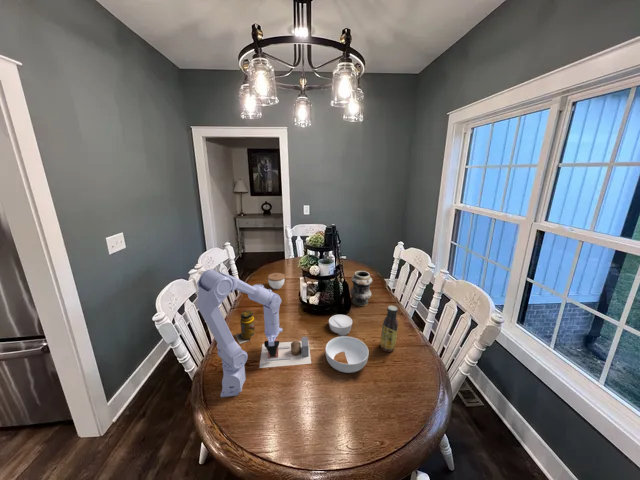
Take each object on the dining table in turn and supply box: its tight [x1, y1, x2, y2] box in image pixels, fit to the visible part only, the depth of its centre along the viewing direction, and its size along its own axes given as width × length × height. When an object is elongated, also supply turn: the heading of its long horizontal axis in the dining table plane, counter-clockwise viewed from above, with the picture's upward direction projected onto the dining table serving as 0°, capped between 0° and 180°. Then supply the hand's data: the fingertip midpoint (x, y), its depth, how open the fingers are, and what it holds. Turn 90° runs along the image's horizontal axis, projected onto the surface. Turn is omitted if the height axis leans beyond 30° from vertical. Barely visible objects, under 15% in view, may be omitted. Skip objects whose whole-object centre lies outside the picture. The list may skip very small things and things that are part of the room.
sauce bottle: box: [380, 305, 399, 353], centre depth 109 cm, size 7×6×20 cm
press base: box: [258, 336, 312, 369], centre depth 106 cm, size 14×20×6 cm
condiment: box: [234, 310, 256, 345], centre depth 117 cm, size 7×8×12 cm
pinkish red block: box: [268, 337, 279, 358], centre depth 105 cm, size 4×4×6 cm
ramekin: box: [328, 314, 353, 337], centre depth 123 cm, size 11×11×5 cm
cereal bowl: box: [324, 335, 370, 374], centre depth 102 cm, size 17×17×7 cm
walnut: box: [291, 340, 301, 356], centre depth 106 cm, size 4×4×4 cm
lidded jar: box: [267, 272, 286, 290], centre depth 167 cm, size 11×11×9 cm
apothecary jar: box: [349, 270, 373, 307], centre depth 148 cm, size 12×12×18 cm
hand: (273, 349), depth 105 cm, fingers open, 7 cm apart
